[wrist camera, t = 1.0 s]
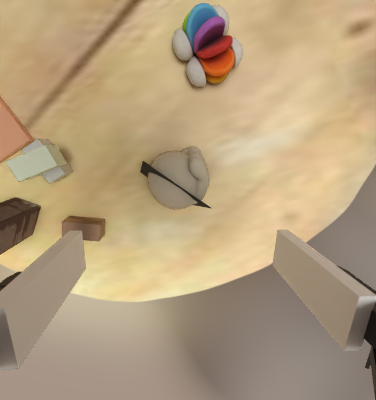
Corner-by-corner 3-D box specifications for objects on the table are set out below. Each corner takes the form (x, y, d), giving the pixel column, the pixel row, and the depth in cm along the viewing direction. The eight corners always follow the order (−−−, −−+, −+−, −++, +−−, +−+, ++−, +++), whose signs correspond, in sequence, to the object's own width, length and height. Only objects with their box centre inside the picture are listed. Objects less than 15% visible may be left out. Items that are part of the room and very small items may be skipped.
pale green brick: (31, 178, 33) (18, 181, 30) (20, 160, 32) (5, 161, 29) (67, 163, 33) (57, 165, 30) (56, 144, 32) (45, 144, 29)
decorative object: (164, 137, 37) (208, 170, 39) (131, 185, 36) (178, 216, 38) (178, 109, 25) (242, 159, 27) (128, 181, 24) (199, 227, 26)
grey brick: (34, 149, 34) (21, 149, 32) (49, 139, 34) (37, 139, 31) (59, 180, 36) (49, 183, 33) (73, 171, 36) (64, 173, 33)
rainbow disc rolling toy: (196, 98, 34) (203, 87, 27) (165, 37, 32) (163, 7, 25) (242, 70, 34) (261, 50, 27) (214, 5, 31) (226, -35, 24)
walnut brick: (70, 231, 38) (62, 238, 36) (70, 215, 38) (62, 221, 35) (104, 234, 39) (99, 241, 36) (105, 218, 38) (99, 224, 35)
